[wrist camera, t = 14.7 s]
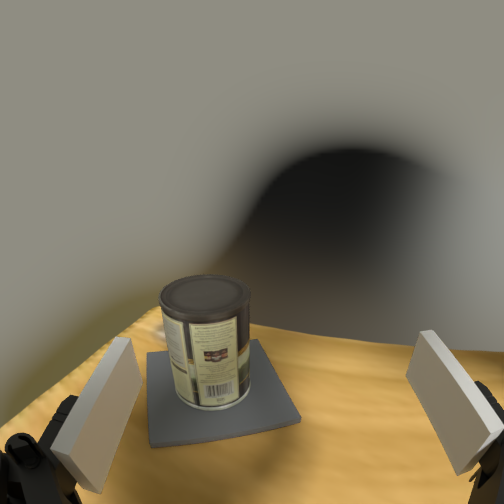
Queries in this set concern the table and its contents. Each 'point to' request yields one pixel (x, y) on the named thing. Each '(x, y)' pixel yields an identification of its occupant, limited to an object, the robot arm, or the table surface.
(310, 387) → the table surface
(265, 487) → the table surface
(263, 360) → the rubber mat
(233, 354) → the coffee can
